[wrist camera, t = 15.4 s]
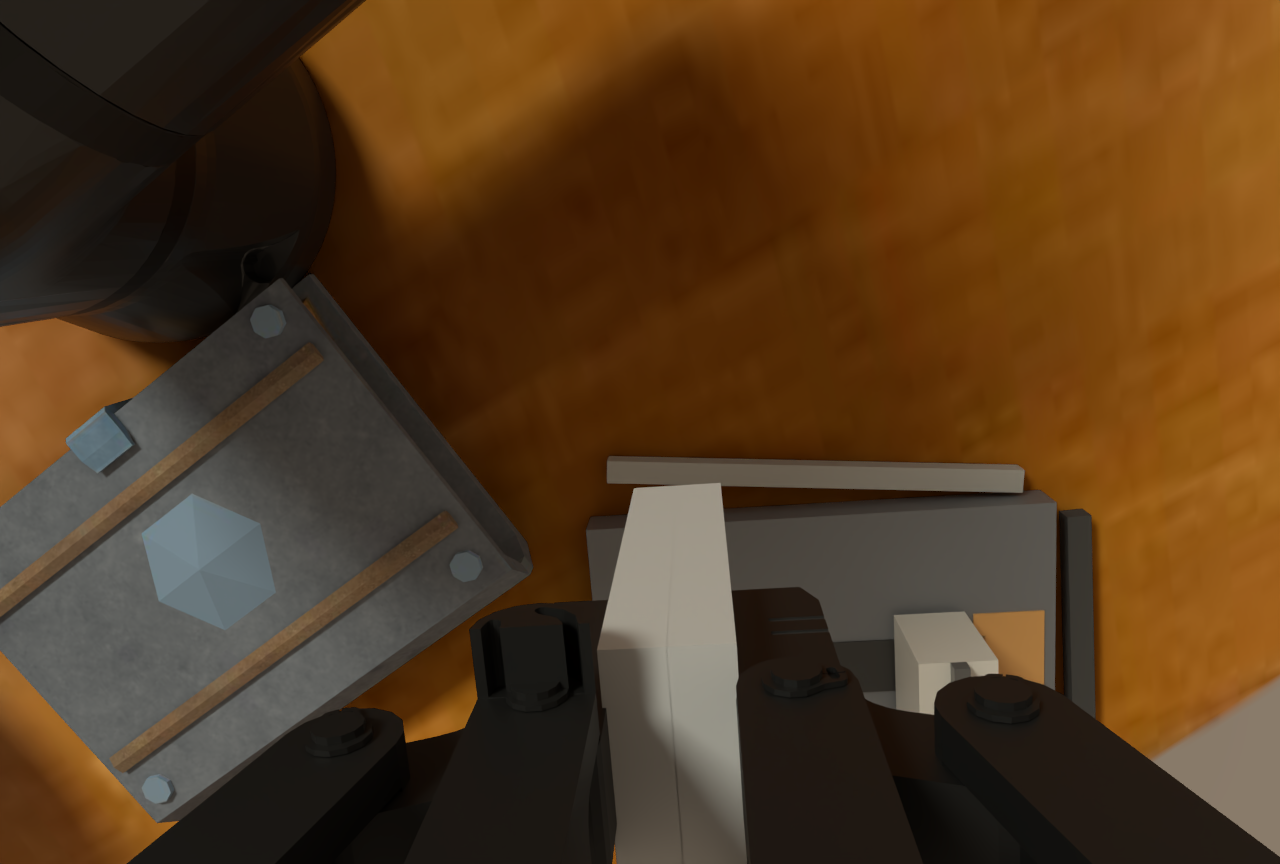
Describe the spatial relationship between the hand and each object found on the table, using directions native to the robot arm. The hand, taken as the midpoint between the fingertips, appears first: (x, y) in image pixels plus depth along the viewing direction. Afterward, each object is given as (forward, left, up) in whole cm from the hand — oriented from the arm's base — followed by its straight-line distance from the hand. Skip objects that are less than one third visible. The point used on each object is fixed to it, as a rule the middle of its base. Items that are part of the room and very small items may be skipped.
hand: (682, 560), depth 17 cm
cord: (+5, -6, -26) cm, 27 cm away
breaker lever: (+10, -14, -24) cm, 29 cm away
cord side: (+17, -13, -26) cm, 34 cm away
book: (-21, -7, -27) cm, 35 cm away
